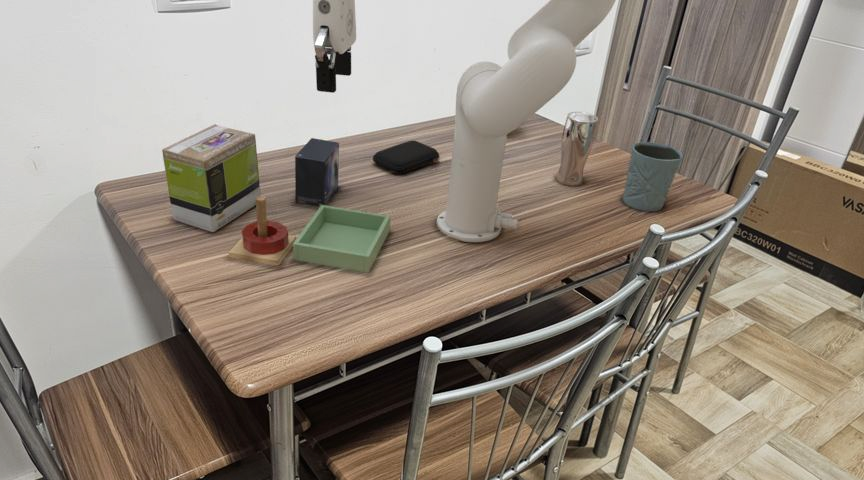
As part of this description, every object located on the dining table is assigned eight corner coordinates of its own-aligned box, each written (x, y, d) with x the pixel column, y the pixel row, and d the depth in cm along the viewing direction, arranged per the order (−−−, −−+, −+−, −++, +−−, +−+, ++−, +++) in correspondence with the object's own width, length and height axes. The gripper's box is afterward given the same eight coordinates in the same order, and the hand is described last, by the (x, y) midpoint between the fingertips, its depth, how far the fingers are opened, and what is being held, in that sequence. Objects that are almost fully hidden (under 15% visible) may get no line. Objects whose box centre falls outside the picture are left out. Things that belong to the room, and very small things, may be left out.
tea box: (221, 191, 141) (215, 122, 132) (262, 203, 137) (258, 133, 129) (170, 220, 129) (160, 146, 121) (213, 234, 126) (205, 159, 118)
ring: (294, 236, 124) (293, 224, 123) (278, 257, 118) (277, 245, 116) (253, 229, 125) (253, 217, 124) (235, 250, 119) (234, 238, 118)
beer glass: (551, 182, 154) (563, 118, 146) (557, 171, 160) (569, 109, 152) (581, 189, 152) (596, 124, 144) (587, 177, 158) (601, 114, 150)
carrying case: (402, 179, 151) (445, 162, 160) (403, 166, 149) (446, 150, 158) (368, 164, 157) (412, 148, 166) (369, 151, 155) (413, 136, 164)
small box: (325, 209, 137) (325, 160, 131) (294, 205, 138) (292, 156, 132) (340, 187, 145) (340, 141, 140) (310, 183, 146) (310, 136, 141)
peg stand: (296, 243, 125) (295, 191, 119) (278, 268, 118) (275, 213, 112) (250, 235, 126) (246, 183, 121) (229, 259, 119) (224, 205, 113)
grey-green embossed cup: (610, 200, 148) (624, 148, 142) (632, 187, 155) (646, 137, 148) (654, 217, 143) (670, 164, 136) (675, 203, 149) (691, 151, 143)
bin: (389, 232, 130) (390, 215, 128) (368, 275, 118) (368, 256, 116) (321, 221, 132) (321, 204, 130) (293, 261, 120) (292, 243, 118)
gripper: (340, -14, 100) (342, 100, 110) (368, -32, 115) (367, 70, 124) (291, -18, 101) (297, 96, 111) (325, -35, 116) (327, 67, 125)
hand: (334, 82), depth 117 cm, fingers open, 9 cm apart
